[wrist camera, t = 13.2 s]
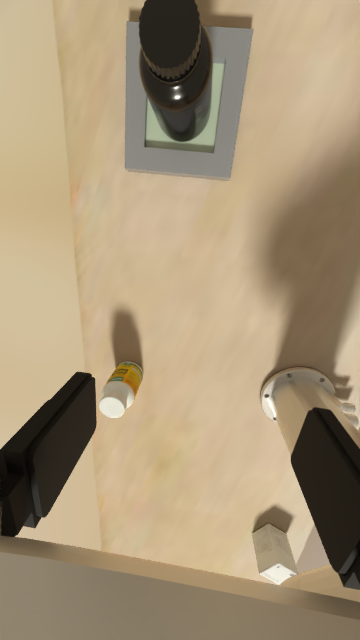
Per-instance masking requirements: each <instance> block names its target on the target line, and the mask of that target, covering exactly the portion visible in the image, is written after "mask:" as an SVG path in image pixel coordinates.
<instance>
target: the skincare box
mask: <svg viewBox="0 0 360 640" xmlns="http://www.w3.org/2000/svg"><path fill="white" fill-rule="evenodd" d="M252 537H253V542H254V548H255V553H256V559H257V564H258V570H259V574H261V575H263V576H265V577H266V578H268V579H270V580H272V581H273V582H275V583H277V584H278V585H279V584H281V583H282V582H283V581H284V580H286V579H288V578H290V577H292V576H294V575H297V574H298V572H297V568H296V565H295V561H294V558H293V555H292V551H291V548H290V545H289V541H288V538H287V534H286V533H284V532H282V531H281V530H279V529H277V528H276V527H274V526H272V525H271V524H267V525H265V526H263V527H262V528H260V529H259V530H257V531H255V532H254V533H253V534H252Z"/></svg>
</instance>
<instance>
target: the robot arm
mask: <svg viewBox="0 0 360 640" xmlns="http://www.w3.org/2000/svg"><path fill="white" fill-rule="evenodd" d="M260 401H261V405H262V408H263V411H264V412H265V414H266V415H267V416H268V418H269V419H271V420H272V421H273V422H275V423H277V424H278V425H279V427H280V430H281V432H282V435H283V437H284V440H285V442H286V445H287V447H288V449H289V452H290V454H291V464H292V467H293V469H294V472H295V475H296V477H297V480H298V482H299V485H300V487H301V490H302V493H303V495H304V498H305V500H306V503H307V505H308V508H309V510H310V513H311V516H312V518H313V521H314V523H315V526H316V528H317V531H318V533H319V536H320V539H321V541H322V544H323V546H324V549H325V551H326V554H327V557H328V559H329V562H330V564H329V565H326V566H322V567H320V568H316V569H313V570H309V571H306V572H303V573H300V574H297V575H294V576H292V577H290V578H288V579H286V580H284V581H283V582H282V583H281V584H280V585H274V584H269V583H264V582H259V581H254V580H249V579H243V578H238V577H233V576H228V575H223V574H218V573H213V572H207V571H202V570H197V569H192V568H187V567H181V566H176V565H171V564H166V563H161V562H155V561H150V560H145V559H139V558H134V557H129V556H123V555H118V554H113V553H107V552H102V551H97V550H91V549H85V548H81V547H75V546H69V545H63V544H56V543H51V542H45V541H39V540H33V539H26V538H18V537H15V536H16V535H18V533H19V532H20V530H21V528H22V527H23V526H26V527H31V528H36V526H37V524H38V522H39V521H40V519H41V517H46V516H47V515H48V513H49V512H50V510H51V508H52V506H53V504H54V503H55V501H56V499H57V497H58V496H59V494H60V492H61V490H62V489H63V487H64V485H65V483H66V481H67V480H68V478H69V476H70V474H71V473H72V471H73V469H74V467H75V465H76V464H77V462H78V460H79V458H80V456H81V454H82V453H83V451H84V449H85V448H86V446H87V444H88V442H89V441H90V439H91V437H92V435H93V433H94V431H95V429H96V392H95V378H94V377H92V375H91V374H90V373H84V372H76V373H75V374H74V375H73V376H72V377H71V379H70V380H69V381H68V382H67V383H66V384H65V385H64V386H63V387H62V388H61V389H60V390H59V391H58V392H57V393H56V394H55V395H54V396H53V397H52V398H51V399H50V400H48V401H47V402H46V403H45V404H44V405H43V406H42V407H41V408H40V409H39V410H38V411H37V412H36V413H35V414H34V415H33V416H32V417H31V418H30V419H29V420H28V421H27V422H26V423H25V424H24V426H22V428H21V429H20V430H19V431H18V432H17V433H16V434H15V435H14V436H13V437H12V438H11V439H10V440H9V441H8V442H7V443H6V444H5V445H4V446H3V447H2V448H1V449H0V640H360V433H359V432H358V430H357V429H356V428H355V427H356V426H357V425H358V418H357V416H355V415H352V414H345V413H343V412H342V411H341V410H343V411H347V412H355V406H354V404H351V403H341V402H340V401H339V400H338V399H337V398H336V397H335V390H334V387H333V385H332V383H331V382H330V380H329V379H328V378H327V377H326V376H325V375H323V374H322V373H321V372H319V371H317V370H314V369H311V368H306V367H294V368H288V369H285V370H282V371H280V372H278V373H276V374H275V375H273V376H272V377H271V378H270V379H269V380H268V381H267V382H266V383H265V385H264V386H263V388H262V391H261V396H260Z"/></svg>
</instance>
